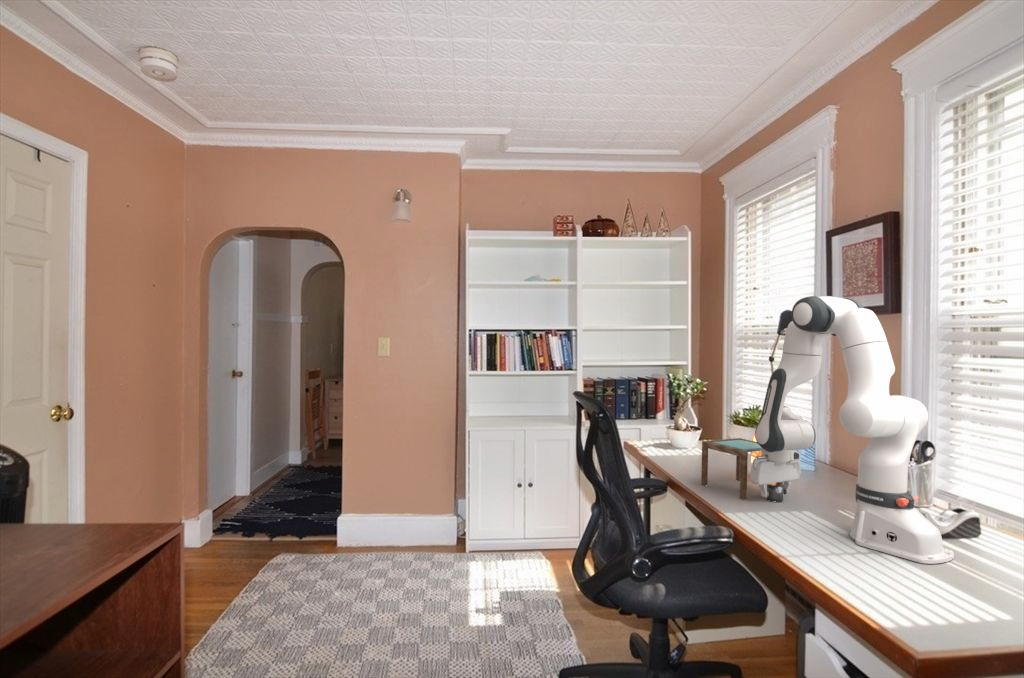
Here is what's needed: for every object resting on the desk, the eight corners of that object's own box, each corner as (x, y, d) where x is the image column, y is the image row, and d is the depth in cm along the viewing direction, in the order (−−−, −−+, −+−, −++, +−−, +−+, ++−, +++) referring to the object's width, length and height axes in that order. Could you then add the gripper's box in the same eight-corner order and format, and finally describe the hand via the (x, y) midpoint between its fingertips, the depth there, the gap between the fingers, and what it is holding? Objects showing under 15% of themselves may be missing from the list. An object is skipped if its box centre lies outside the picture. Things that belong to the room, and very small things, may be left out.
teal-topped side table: (782, 493, 190) (783, 447, 190) (743, 499, 182) (744, 451, 182) (738, 480, 207) (739, 438, 207) (701, 484, 199) (702, 441, 199)
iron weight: (786, 501, 181) (786, 486, 181) (776, 503, 179) (776, 488, 179) (773, 497, 185) (773, 482, 185) (763, 499, 183) (763, 484, 183)
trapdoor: (772, 449, 191) (772, 446, 191) (743, 452, 185) (743, 449, 185) (739, 442, 204) (739, 439, 204) (711, 444, 198) (711, 441, 198)
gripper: (761, 458, 175) (760, 501, 175) (804, 453, 183) (803, 494, 183) (745, 454, 180) (744, 495, 180) (788, 449, 189) (787, 489, 189)
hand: (774, 495), depth 182 cm, fingers open, 8 cm apart
